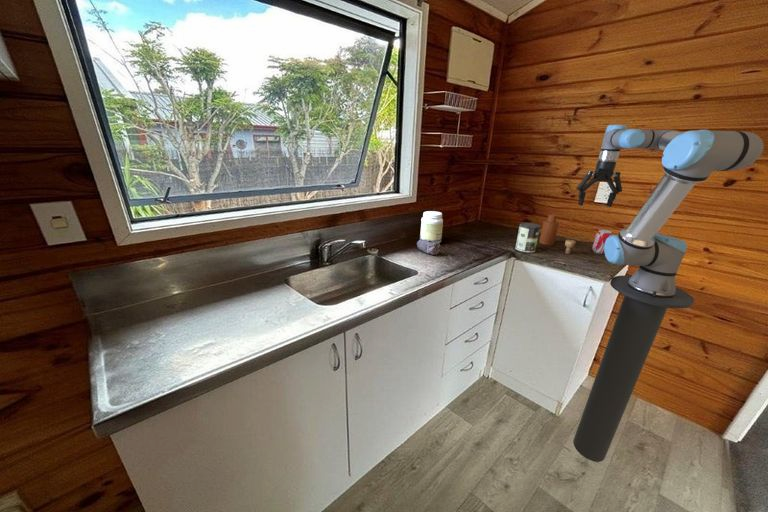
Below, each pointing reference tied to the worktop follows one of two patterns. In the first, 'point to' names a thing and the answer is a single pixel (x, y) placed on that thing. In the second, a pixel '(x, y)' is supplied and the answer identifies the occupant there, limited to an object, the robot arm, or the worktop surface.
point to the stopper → (569, 245)
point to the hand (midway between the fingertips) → (594, 205)
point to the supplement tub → (431, 226)
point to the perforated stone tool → (428, 246)
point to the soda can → (600, 241)
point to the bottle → (549, 230)
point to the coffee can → (527, 237)
